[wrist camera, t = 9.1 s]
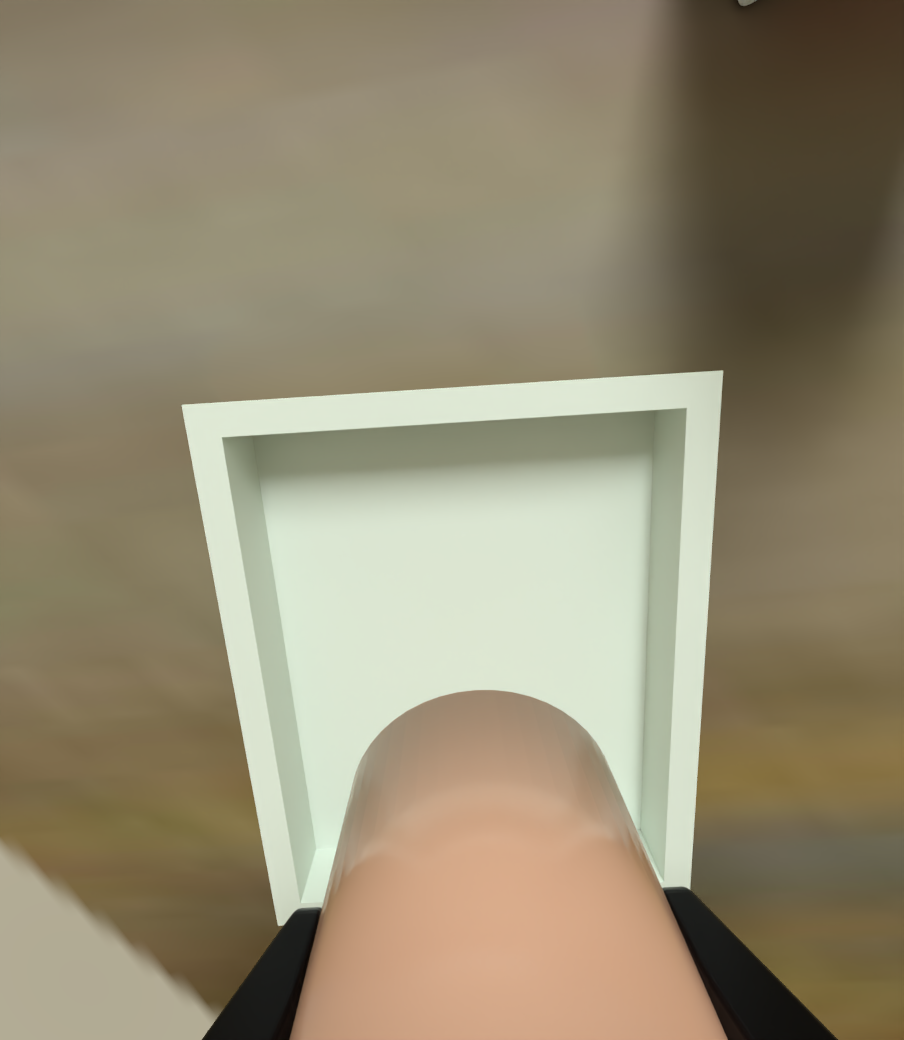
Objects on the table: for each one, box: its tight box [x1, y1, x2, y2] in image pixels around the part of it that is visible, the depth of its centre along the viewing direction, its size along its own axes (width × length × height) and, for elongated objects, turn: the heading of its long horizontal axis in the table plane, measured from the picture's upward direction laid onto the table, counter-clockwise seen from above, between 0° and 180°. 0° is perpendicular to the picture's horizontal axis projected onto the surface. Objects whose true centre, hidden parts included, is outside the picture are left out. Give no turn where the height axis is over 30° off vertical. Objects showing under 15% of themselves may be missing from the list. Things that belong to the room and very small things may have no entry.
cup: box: [289, 690, 728, 1040], centre depth 6 cm, size 5×5×7 cm
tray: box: [182, 370, 723, 926], centre depth 15 cm, size 16×13×2 cm
